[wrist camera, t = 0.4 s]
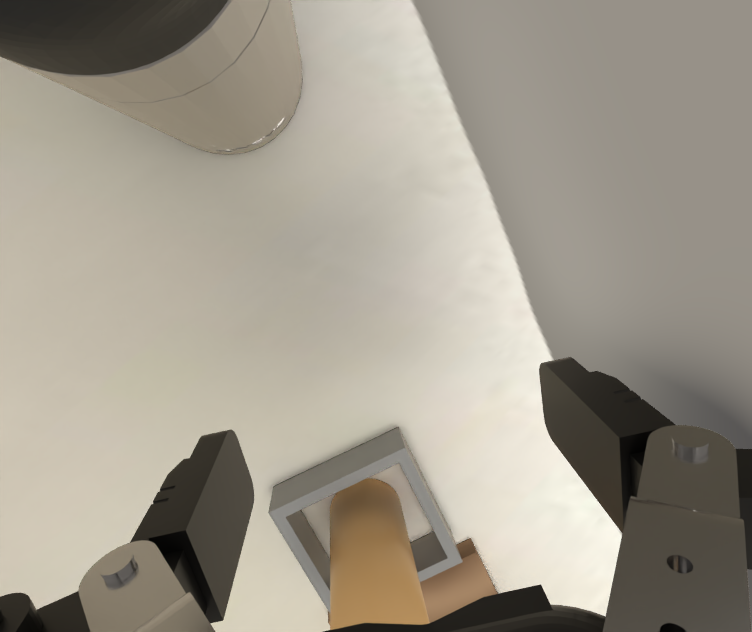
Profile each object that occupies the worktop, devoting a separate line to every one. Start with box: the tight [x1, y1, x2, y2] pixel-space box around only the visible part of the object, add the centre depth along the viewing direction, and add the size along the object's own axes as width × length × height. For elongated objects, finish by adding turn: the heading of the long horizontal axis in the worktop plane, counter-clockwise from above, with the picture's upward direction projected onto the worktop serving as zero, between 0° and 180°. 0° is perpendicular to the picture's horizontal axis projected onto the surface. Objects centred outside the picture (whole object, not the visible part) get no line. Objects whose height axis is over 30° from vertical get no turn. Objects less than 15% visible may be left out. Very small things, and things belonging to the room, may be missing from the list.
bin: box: [268, 427, 463, 613], centre depth 33 cm, size 10×10×3 cm
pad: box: [328, 538, 498, 624], centre depth 37 cm, size 10×12×2 cm
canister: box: [330, 478, 430, 630], centre depth 28 cm, size 5×5×14 cm
